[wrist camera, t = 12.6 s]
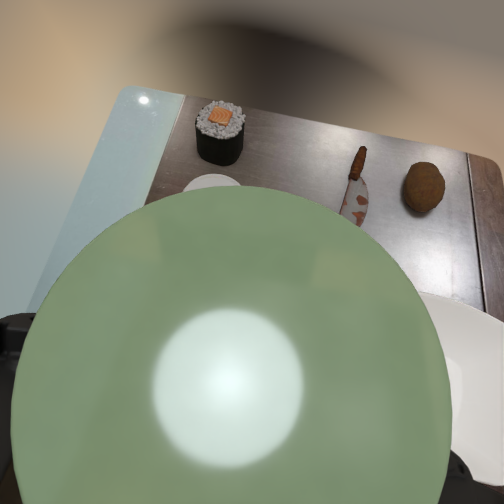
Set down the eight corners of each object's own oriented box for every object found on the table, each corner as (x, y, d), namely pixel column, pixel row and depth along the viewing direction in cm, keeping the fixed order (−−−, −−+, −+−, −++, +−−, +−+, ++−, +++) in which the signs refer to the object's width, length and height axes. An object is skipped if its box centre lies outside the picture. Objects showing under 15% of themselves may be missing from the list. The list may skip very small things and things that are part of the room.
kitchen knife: (357, 248, 59) (330, 236, 59) (353, 252, 61) (326, 240, 61) (385, 153, 68) (360, 142, 67) (380, 159, 69) (356, 148, 69)
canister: (137, 463, 15) (-102, 581, 4) (182, 321, 17) (115, 150, 6) (282, 499, 14) (462, 732, 4) (304, 351, 17) (450, 228, 6)
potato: (430, 176, 68) (449, 154, 62) (437, 221, 64) (458, 201, 58) (396, 172, 68) (412, 149, 62) (401, 217, 63) (418, 197, 58)
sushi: (191, 158, 65) (188, 125, 58) (209, 126, 69) (207, 91, 62) (233, 171, 65) (234, 140, 58) (248, 138, 68) (251, 105, 61)
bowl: (368, 293, 57) (391, 273, 49) (498, 345, 55) (543, 332, 47) (331, 429, 48) (352, 431, 40) (484, 496, 46) (537, 512, 38)
